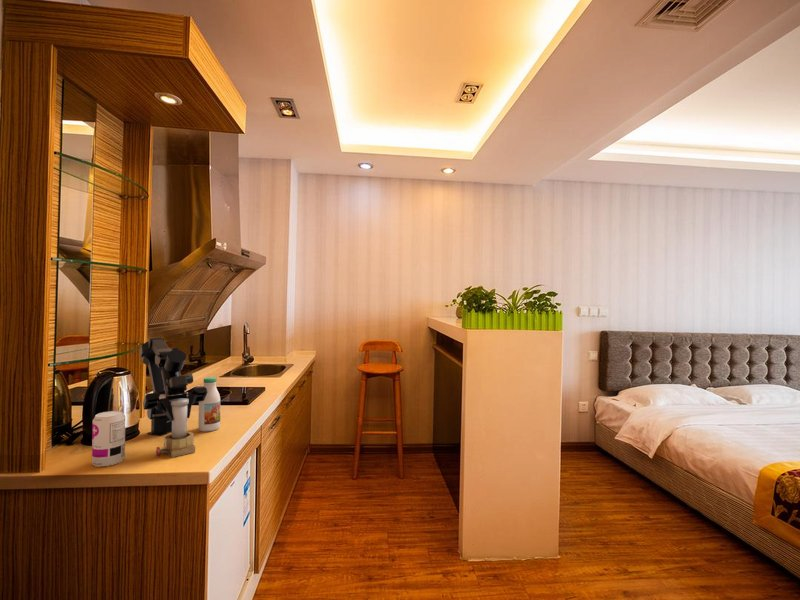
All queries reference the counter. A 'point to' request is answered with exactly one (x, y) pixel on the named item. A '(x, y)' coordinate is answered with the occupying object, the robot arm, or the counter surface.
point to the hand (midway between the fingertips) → (180, 418)
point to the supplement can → (108, 438)
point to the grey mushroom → (179, 418)
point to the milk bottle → (209, 407)
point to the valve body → (177, 445)
